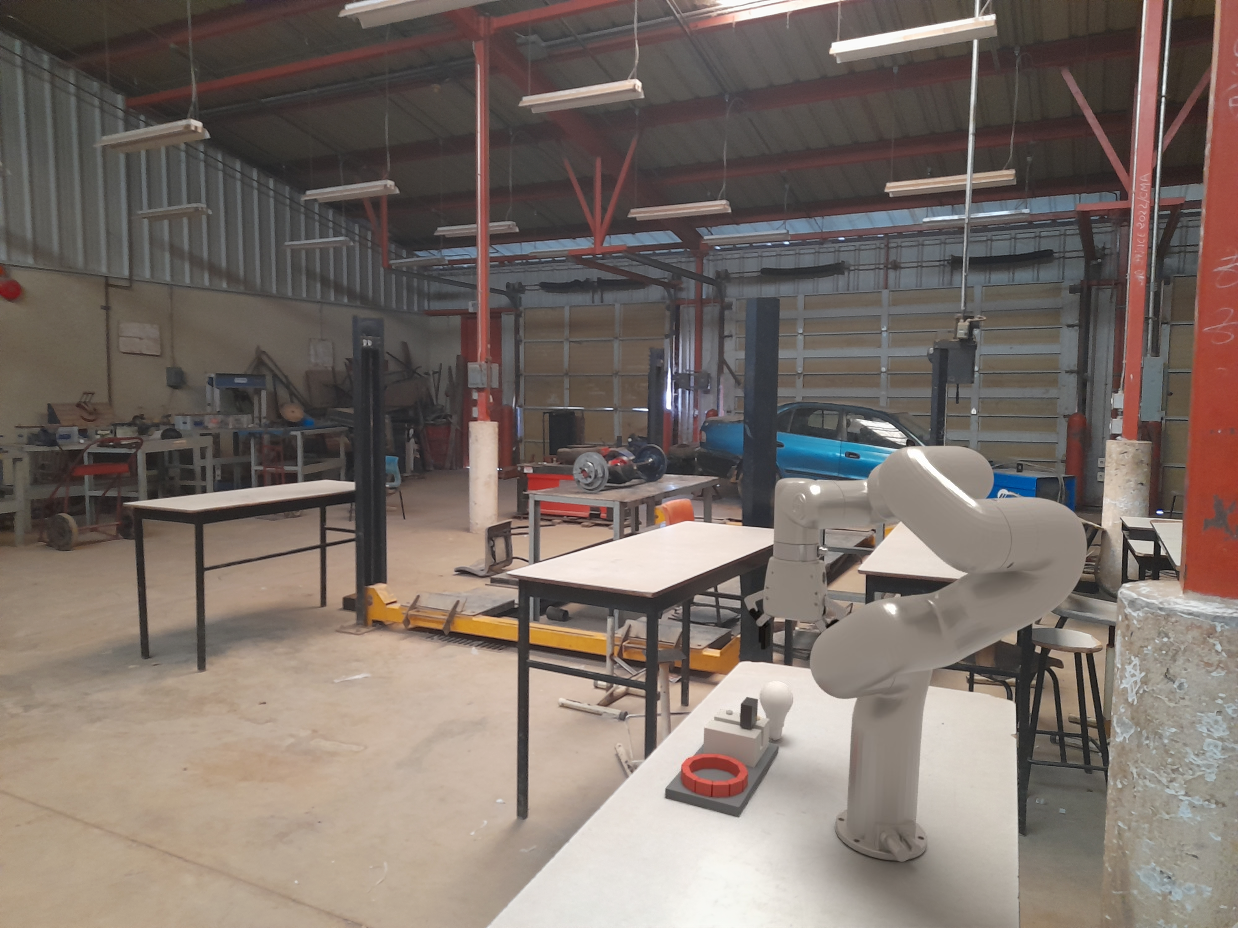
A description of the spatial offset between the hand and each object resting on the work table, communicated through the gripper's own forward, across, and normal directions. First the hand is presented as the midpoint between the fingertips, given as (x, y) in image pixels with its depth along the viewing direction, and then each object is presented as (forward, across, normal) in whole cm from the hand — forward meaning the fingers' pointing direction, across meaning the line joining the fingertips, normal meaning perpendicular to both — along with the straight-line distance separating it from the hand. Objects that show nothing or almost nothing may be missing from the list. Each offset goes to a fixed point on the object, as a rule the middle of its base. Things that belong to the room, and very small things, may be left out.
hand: (793, 651), depth 132 cm
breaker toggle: (+17, +7, +1) cm, 18 cm away
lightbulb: (+20, +6, -10) cm, 23 cm away
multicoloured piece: (+20, +9, +7) cm, 23 cm away
